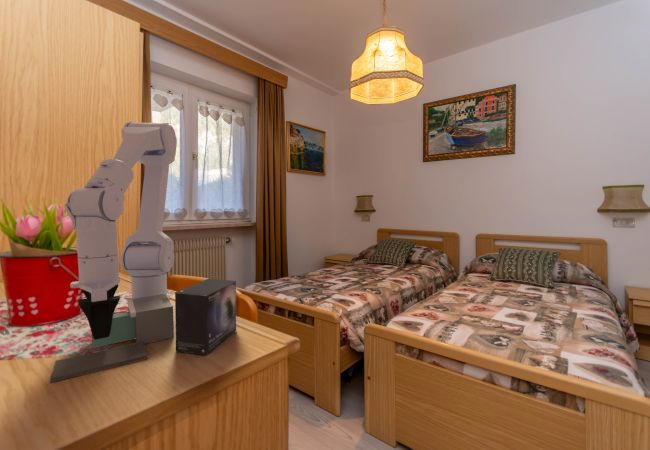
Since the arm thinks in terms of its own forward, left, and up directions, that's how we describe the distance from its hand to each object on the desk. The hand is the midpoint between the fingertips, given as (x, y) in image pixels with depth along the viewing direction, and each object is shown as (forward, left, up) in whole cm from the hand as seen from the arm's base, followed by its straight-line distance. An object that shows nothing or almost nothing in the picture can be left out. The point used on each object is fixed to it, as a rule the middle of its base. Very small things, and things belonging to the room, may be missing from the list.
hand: (102, 330), depth 56 cm
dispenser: (0, +8, -2) cm, 8 cm away
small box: (+10, +16, -3) cm, 19 cm away
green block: (0, +4, -3) cm, 4 cm away
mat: (+8, 0, -2) cm, 8 cm away
